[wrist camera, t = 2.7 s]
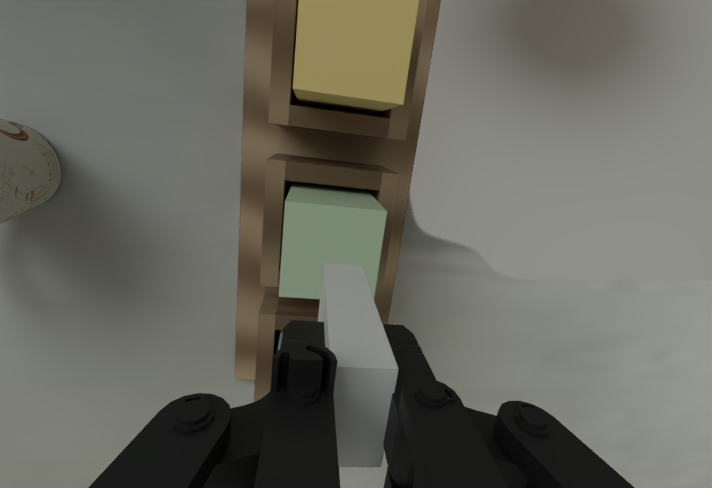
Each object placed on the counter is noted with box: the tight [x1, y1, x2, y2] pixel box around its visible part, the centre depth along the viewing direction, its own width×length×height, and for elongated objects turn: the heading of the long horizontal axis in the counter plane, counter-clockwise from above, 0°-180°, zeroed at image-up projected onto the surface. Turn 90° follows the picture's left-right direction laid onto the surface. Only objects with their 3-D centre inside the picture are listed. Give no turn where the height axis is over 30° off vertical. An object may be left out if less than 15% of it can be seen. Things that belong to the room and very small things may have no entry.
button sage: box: [279, 182, 387, 299], centre depth 21 cm, size 5×5×7 cm
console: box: [235, 0, 441, 402], centre depth 26 cm, size 32×13×7 cm, turn 173°
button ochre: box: [293, 0, 419, 113], centre depth 19 cm, size 5×5×7 cm
